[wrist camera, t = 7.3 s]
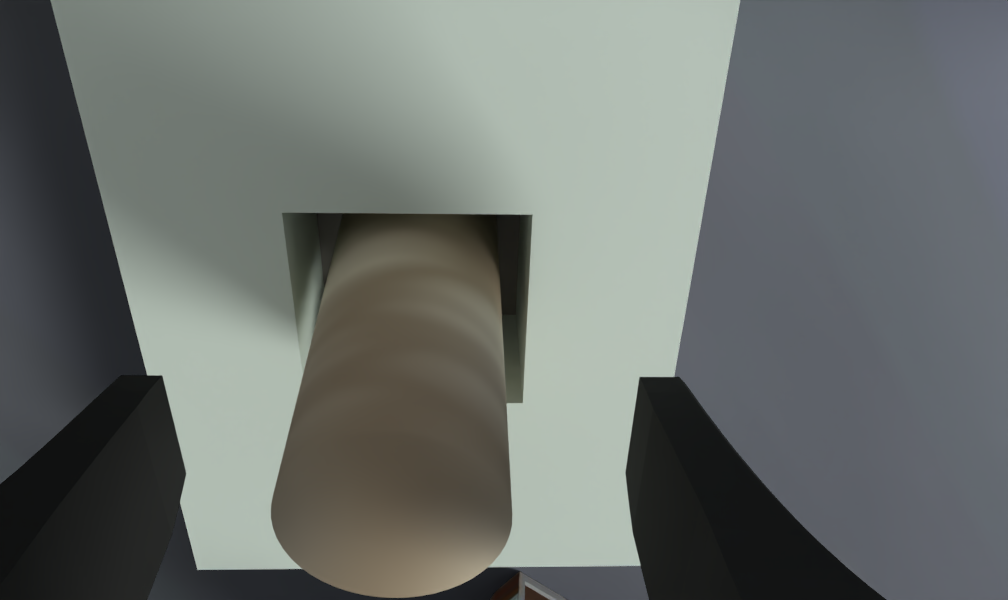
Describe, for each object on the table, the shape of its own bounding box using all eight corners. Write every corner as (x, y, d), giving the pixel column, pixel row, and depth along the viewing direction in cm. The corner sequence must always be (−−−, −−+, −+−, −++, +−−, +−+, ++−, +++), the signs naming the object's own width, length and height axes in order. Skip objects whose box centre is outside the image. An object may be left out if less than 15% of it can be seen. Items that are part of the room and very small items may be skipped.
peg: (502, 161, 18) (523, 436, 11) (491, 294, 19) (502, 601, 13) (341, 151, 17) (262, 426, 11) (344, 287, 19) (278, 595, 13)
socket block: (701, -134, 15) (756, -94, 12) (619, 456, 23) (640, 565, 20) (108, -149, 15) (22, -111, 12) (231, 458, 23) (197, 569, 20)
